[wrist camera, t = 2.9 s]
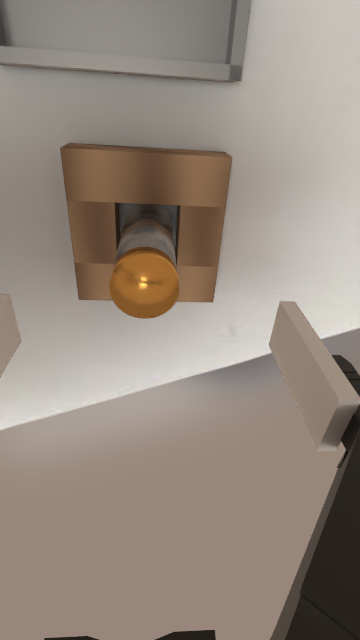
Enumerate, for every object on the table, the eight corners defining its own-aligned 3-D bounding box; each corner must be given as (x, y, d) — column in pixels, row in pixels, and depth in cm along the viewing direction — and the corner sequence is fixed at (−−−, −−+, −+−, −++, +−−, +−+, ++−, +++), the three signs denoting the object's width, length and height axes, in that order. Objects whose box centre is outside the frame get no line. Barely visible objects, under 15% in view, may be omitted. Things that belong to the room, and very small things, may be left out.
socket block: (84, 284, 32) (78, 299, 29) (69, 142, 25) (60, 147, 23) (208, 286, 33) (213, 302, 30) (224, 152, 26) (232, 157, 24)
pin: (125, 245, 30) (111, 317, 20) (124, 199, 28) (107, 255, 18) (170, 246, 30) (177, 319, 20) (172, 201, 28) (181, 257, 18)
